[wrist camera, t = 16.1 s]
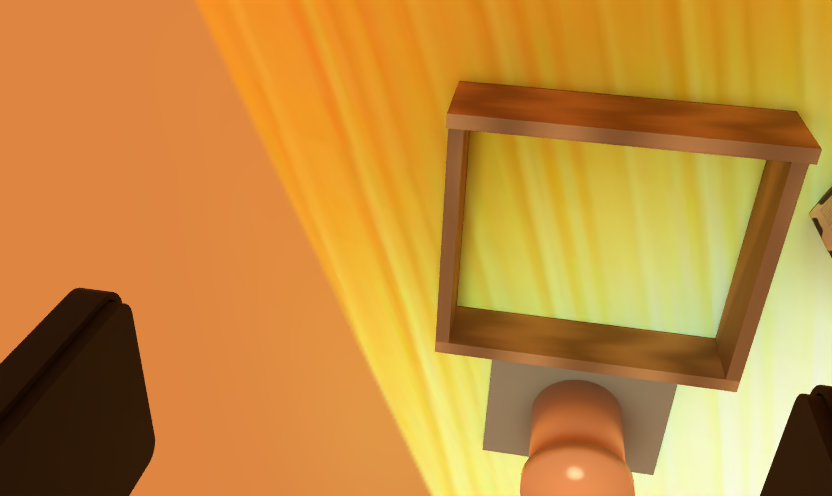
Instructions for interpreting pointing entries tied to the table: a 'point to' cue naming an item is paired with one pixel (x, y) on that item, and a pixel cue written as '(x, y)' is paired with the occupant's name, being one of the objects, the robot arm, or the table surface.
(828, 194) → the candy box
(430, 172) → the table surface
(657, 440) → the mat
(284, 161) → the table surface
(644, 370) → the frame
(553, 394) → the terracotta pot
